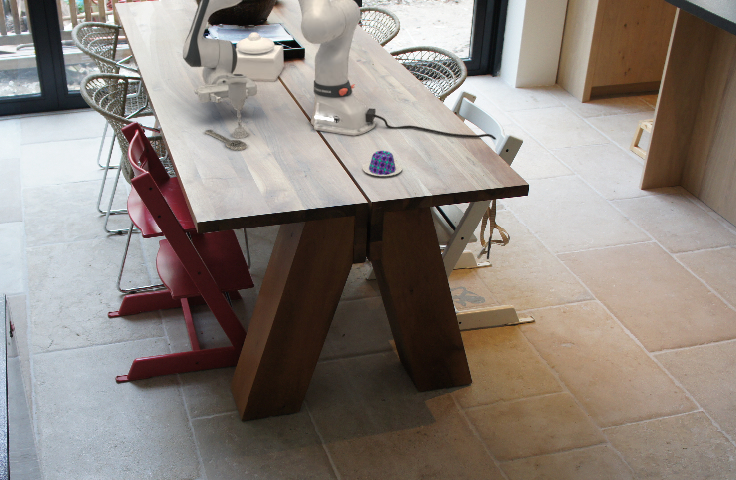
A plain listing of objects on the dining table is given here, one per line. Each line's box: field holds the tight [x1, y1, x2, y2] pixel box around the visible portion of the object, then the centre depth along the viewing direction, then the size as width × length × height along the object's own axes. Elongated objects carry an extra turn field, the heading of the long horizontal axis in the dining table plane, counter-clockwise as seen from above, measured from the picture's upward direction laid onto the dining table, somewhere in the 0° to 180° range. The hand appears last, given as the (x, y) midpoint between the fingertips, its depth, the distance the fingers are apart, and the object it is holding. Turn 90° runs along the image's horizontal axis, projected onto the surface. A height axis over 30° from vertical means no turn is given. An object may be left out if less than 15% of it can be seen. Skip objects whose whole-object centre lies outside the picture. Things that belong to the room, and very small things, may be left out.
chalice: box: [226, 78, 249, 139], centre depth 276 cm, size 7×7×18 cm
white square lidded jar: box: [233, 31, 285, 82], centre depth 331 cm, size 18×18×16 cm
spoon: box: [205, 129, 247, 151], centre depth 278 cm, size 21×5×1 cm, turn 39°
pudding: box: [362, 150, 403, 177], centre depth 254 cm, size 12×12×5 cm
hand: (232, 98), depth 282 cm, fingers open, 8 cm apart
